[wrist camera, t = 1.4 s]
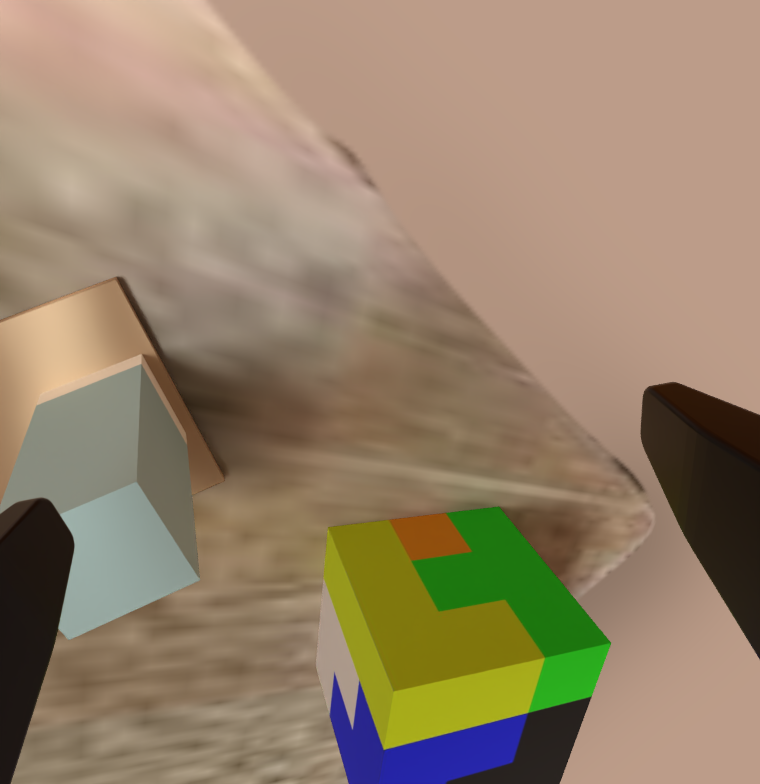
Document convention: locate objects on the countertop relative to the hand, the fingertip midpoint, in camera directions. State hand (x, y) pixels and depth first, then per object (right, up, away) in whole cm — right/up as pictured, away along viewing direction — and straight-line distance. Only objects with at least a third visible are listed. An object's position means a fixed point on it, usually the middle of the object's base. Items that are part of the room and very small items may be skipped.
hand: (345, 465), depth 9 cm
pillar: (-10, 0, +15) cm, 18 cm away
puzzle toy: (+2, -10, +26) cm, 28 cm away
